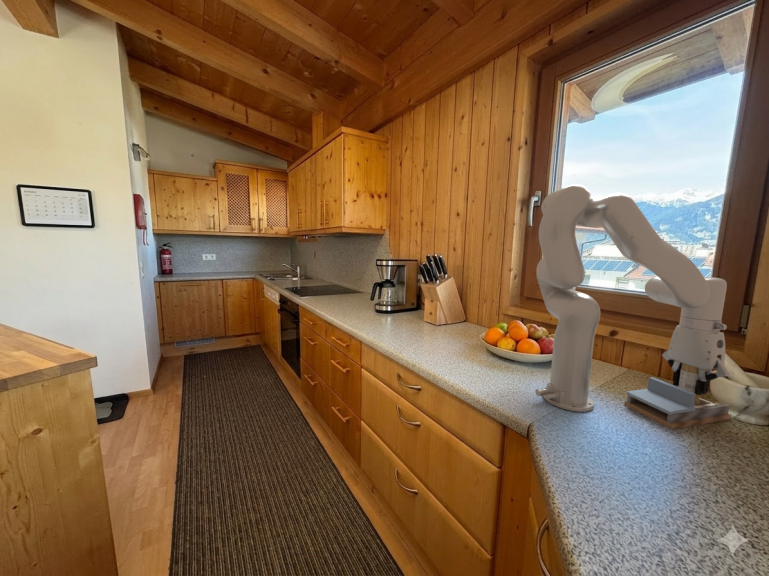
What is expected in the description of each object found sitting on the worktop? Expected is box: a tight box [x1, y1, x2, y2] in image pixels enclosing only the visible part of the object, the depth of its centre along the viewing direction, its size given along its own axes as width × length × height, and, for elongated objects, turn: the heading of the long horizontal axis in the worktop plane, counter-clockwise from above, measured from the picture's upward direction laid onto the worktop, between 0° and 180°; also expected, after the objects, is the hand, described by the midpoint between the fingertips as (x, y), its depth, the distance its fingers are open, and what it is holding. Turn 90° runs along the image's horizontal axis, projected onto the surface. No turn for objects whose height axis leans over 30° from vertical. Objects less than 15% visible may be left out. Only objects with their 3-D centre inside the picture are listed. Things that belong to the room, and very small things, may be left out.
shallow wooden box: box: [624, 395, 732, 430], centre depth 84 cm, size 20×12×3 cm, turn 104°
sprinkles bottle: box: [678, 363, 701, 404], centre depth 84 cm, size 5×5×13 cm
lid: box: [625, 376, 696, 415], centre depth 82 cm, size 8×11×4 cm
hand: (689, 388), depth 84 cm, fingers closed on sprinkles bottle, 4 cm apart
